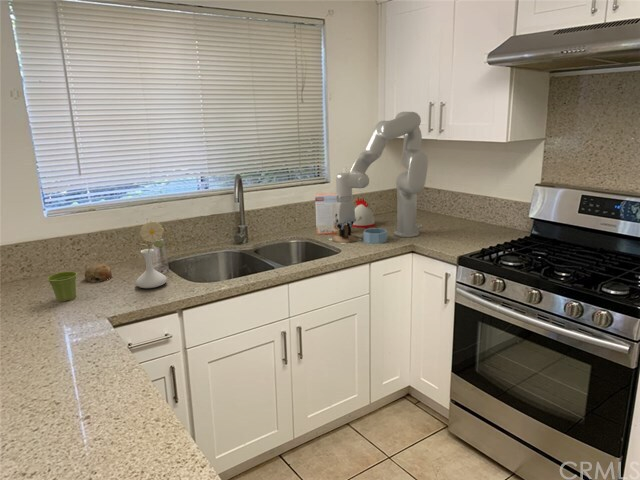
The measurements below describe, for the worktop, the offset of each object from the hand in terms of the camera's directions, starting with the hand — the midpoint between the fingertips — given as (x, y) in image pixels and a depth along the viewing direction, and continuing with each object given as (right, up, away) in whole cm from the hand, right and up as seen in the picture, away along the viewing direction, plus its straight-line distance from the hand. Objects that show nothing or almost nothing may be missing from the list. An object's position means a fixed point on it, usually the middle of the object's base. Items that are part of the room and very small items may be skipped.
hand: (345, 235), depth 234 cm
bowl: (+15, -3, -3) cm, 15 cm away
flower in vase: (-75, -20, -53) cm, 94 cm away
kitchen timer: (+11, +6, +29) cm, 32 cm away
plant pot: (-103, -23, -63) cm, 123 cm away
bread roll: (-101, -18, -43) cm, 111 cm away
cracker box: (-7, +1, +14) cm, 15 cm away
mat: (0, -2, +1) cm, 2 cm away
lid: (0, -2, 0) cm, 2 cm away
